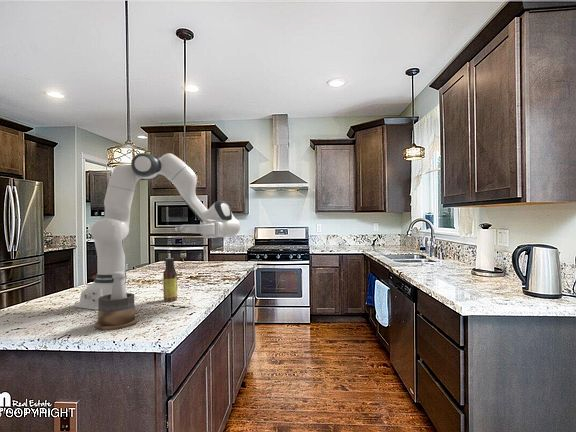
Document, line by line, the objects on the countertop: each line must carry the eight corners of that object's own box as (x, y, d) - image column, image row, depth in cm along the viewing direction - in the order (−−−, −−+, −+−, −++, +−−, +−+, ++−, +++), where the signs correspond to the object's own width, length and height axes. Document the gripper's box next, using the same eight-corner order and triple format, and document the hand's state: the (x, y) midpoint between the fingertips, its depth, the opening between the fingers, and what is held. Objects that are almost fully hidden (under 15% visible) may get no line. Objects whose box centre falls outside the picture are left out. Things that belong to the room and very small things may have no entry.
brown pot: (85, 328, 115) (85, 300, 116) (113, 317, 129) (113, 291, 129) (120, 331, 113) (120, 301, 113) (145, 319, 126) (145, 293, 126)
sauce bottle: (179, 300, 156) (179, 258, 156) (167, 302, 152) (167, 259, 152) (173, 298, 161) (173, 257, 161) (160, 300, 156) (160, 258, 156)
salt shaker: (114, 305, 124) (114, 270, 124) (129, 304, 124) (129, 270, 125) (106, 309, 118) (106, 273, 118) (123, 309, 119) (123, 272, 119)
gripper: (197, 221, 161) (170, 222, 151) (220, 221, 146) (191, 221, 137) (197, 234, 161) (170, 235, 151) (220, 235, 146) (192, 237, 137)
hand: (180, 229), depth 144 cm, fingers open, 8 cm apart
